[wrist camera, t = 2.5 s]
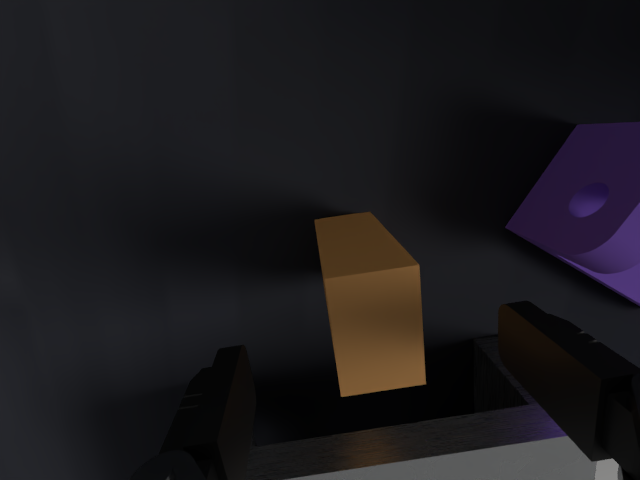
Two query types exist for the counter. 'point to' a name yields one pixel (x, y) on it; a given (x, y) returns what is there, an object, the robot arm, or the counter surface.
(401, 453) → the grey slotted platform
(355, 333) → the orange rectangular block
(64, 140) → the counter surface
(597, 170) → the bracket
